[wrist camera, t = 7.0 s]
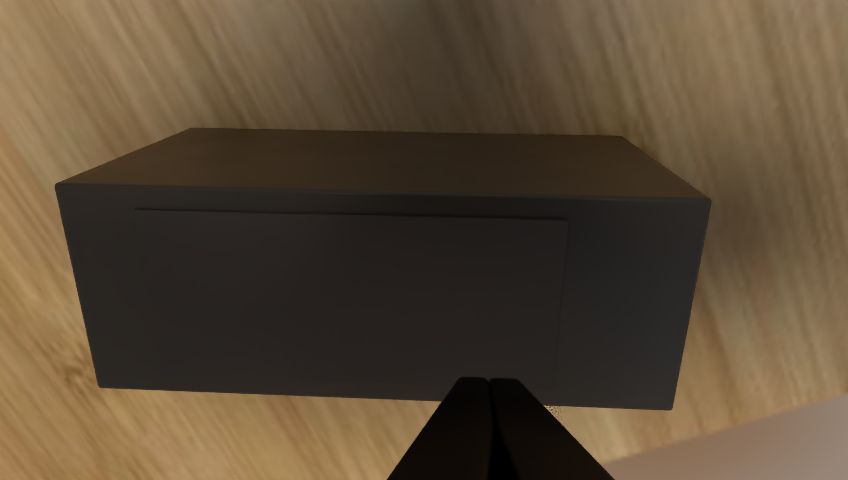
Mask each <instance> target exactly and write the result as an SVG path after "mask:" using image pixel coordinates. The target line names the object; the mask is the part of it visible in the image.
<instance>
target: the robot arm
mask: <svg viewBox="0 0 848 480" xmlns="http://www.w3.org/2000/svg"><path fill="white" fill-rule="evenodd" d="M387 480H614V478H613V477H612V476H610V474H609V473H608V472H607V471H606V470H605V469H604V468H603V467H602V466H601V465H600V464H599V463H598V462H597V461H596V460H595V459H594V458H593V457H592V456H591V455H590V453H589V452H588V451H587V450H586V449H585V448H584V447H583V446H582V445H581V444H580V443H579V442H578V441H577V440H576V439H575V438H574V437H573V436H572V435H571V434H570V433H569V432H568V431H567V430H566V428H565V427H564V426H563V425H562V424H561V423H560V422H559V421H558V420H557V419H556V418H555V417H554V416H553V415H552V414H551V413H550V412H549V411H548V410H547V409H546V408H545V407H544V406H543V405H542V403H541V402H540V401H539V400H538V399H537V398H536V397H535V396H534V395H533V394H532V393H531V392H530V391H529V390H528V389H527V388H526V387H525V386H524V385H523V384H522V383H521V382H520V381H519V380H518V379H515V378H491V379H490V380H489V383H488V380H487V379H486V378H484V377H460V378H459V379H458V380H457V381H456V382H455V384H454V385H453V387H452V388H451V389H450V391H449V392H448V394H447V395H446V397H445V398H444V399H443V401H442V402H441V404H440V405H439V406H438V408H437V409H436V411H435V412H434V414H433V415H432V416H431V418H430V419H429V421H428V422H427V423H426V425H425V426H424V428H423V429H422V430H421V432H420V433H419V435H418V436H417V438H416V439H415V440H414V442H413V443H412V445H411V446H410V447H409V449H408V450H407V452H406V453H405V455H404V456H403V457H402V459H401V460H400V462H399V463H398V464H397V466H396V467H395V469H394V470H393V471H392V473H391V474H390V476H389V477H388V479H387Z"/></svg>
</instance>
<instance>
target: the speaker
mask: <svg viewBox="0 0 848 480" xmlns="http://www.w3.org/2000/svg"><path fill="white" fill-rule="evenodd" d="M55 191H56V195H57V200H58V204H59V209H60V214H61V218H62V223H63V227H64V232H65V236H66V241H67V246H68V250H69V255H70V259H71V264H72V268H73V273H74V278H75V282H76V287H77V291H78V296H79V300H80V305H81V309H82V314H83V319H84V323H85V328H86V332H87V337H88V341H89V346H90V351H91V355H92V360H93V364H94V369H95V373H96V378H97V382H98V386H99V387H100V388H115V389H141V390H166V391H191V392H217V393H242V394H267V395H293V396H318V397H343V398H369V399H394V400H420V401H443V399H444V398H445V397H446V395H447V394H448V392H449V391H450V389H451V388H452V387H453V385H454V384H455V382H456V381H457V380H458V379H459V378H460V377H484V378H486V379H487V380H488V383H489V380H490V379H491V378H515V379H518V380H519V381H520V382H521V383H522V384H523V385H524V386H525V387H526V388H527V389H528V390H529V391H530V392H531V393H532V394H533V395H534V396H535V397H536V398H537V399H538V400H539V401H540V402H541V403H542V405H546V406H572V407H597V408H622V409H648V410H672V408H673V403H674V398H675V392H676V387H677V382H678V377H679V371H680V366H681V361H682V356H683V350H684V345H685V340H686V335H687V329H688V324H689V319H690V314H691V309H692V303H693V298H694V293H695V288H696V282H697V277H698V272H699V267H700V261H701V256H702V251H703V246H704V240H705V235H706V230H707V225H708V219H709V214H710V209H711V204H712V201H711V199H710V198H709V197H707V196H706V195H704V194H703V193H702V192H700V191H699V190H697V189H696V188H695V187H693V186H692V185H690V184H689V183H687V182H686V181H685V180H683V179H682V178H680V177H679V176H678V175H676V174H675V173H673V172H672V171H670V170H669V169H668V168H666V167H665V166H663V165H662V164H661V163H659V162H658V161H656V160H655V159H653V158H652V157H651V156H649V155H648V154H646V153H645V152H644V151H642V150H641V149H639V148H638V147H636V146H635V145H634V144H632V143H631V142H629V141H628V140H627V139H625V138H624V137H622V136H584V135H533V134H481V133H429V132H377V131H325V130H273V129H221V128H190V129H187V130H185V131H182V132H180V133H178V134H175V135H173V136H170V137H168V138H165V139H163V140H161V141H158V142H156V143H153V144H151V145H148V146H146V147H143V148H141V149H139V150H136V151H134V152H131V153H129V154H126V155H124V156H122V157H119V158H117V159H114V160H112V161H109V162H107V163H105V164H102V165H100V166H97V167H95V168H92V169H90V170H88V171H85V172H83V173H80V174H78V175H75V176H73V177H71V178H68V179H66V180H63V181H61V182H58V183H56V184H55Z"/></svg>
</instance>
